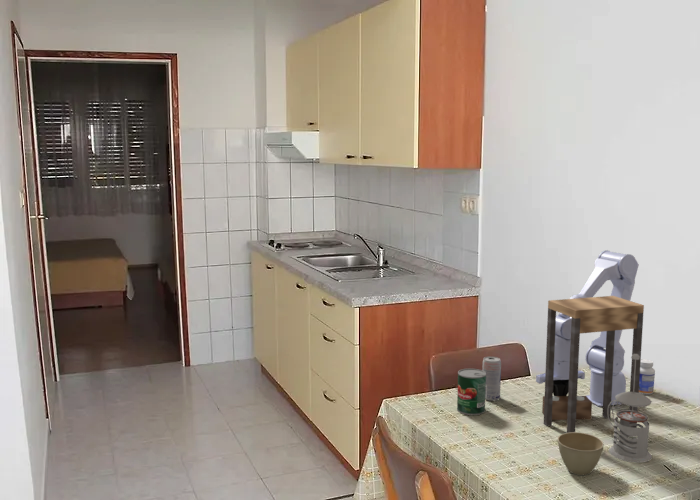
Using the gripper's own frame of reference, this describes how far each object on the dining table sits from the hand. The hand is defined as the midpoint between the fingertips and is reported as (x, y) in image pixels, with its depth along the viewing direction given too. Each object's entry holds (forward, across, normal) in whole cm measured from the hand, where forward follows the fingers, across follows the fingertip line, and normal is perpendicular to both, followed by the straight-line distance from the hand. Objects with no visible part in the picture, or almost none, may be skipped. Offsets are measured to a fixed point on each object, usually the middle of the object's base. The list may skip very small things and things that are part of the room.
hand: (559, 404), depth 194 cm
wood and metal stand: (+1, 0, +14) cm, 14 cm away
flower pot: (+2, +17, +34) cm, 38 cm away
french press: (+2, 0, +29) cm, 29 cm away
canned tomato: (+2, +24, -7) cm, 25 cm away
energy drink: (+2, +14, -14) cm, 20 cm away
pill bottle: (+2, -33, -5) cm, 33 cm away
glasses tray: (+2, +1, +5) cm, 5 cm away
